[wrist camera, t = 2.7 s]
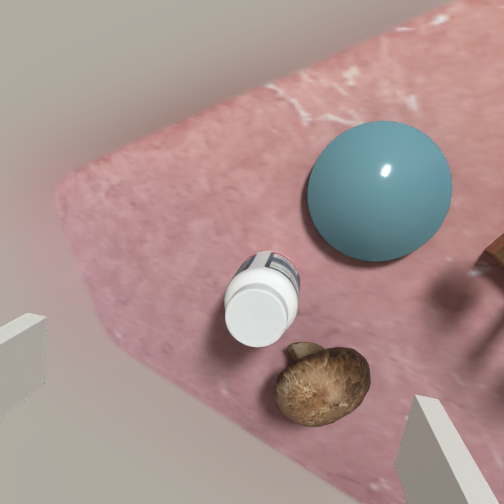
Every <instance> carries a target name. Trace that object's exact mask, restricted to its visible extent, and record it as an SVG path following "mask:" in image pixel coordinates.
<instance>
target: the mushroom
mask: <svg viewBox="0 0 504 504" xmlns="http://www.w3.org/2000/svg"><path fill="white" fill-rule="evenodd" d="M287 350H288V351H289V353H290V354H291V356H292V358H293V360H294V361H293V362H292V363H290V364H289V365H288V366H287V367H286V368H285V369H284V370H283V371H282V373H281V374H280V375H279V376H278V379H277V382H276V385H275V389H274V392H273V393H274V397H275V400H276V403H277V406H278V408H279V410H280V412H281V413H282V414H283V415H284V416H285V417H286V418H288V419H290V420H292V421H294V422H297V423H299V424H301V425H304V426H309V427H321V426H324V425H327V424H331V423H334V422H335V421H337V420H339V419H341V418H342V417H344V416H346V415H348V414H350V413H351V412H352V411H354V410H355V409H356V408H357V407H358V406H359V405H360V404H361V402H362V401H363V399H364V397H365V395H366V394H367V392H368V390H369V387H370V384H371V382H370V370H369V365H368V362H367V360H366V359H365V358H364V357H363V356H362V355H361V354H359V353H358V352H357V351H356V350H354V349H351V348H344V347H334V348H328V349H324V348H323V347H322V346H320V345H317V344H314V343H310V342H299V343H292V344H291V345H289V346H288V347H287Z"/></svg>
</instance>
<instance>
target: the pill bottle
mask: <svg viewBox="0 0 504 504" xmlns="http://www.w3.org/2000/svg"><path fill="white" fill-rule="evenodd" d="M299 290H300V275H299V272H298V269H297V267H296V265H295V264H294V263H293V261H292V260H291V259H290V258H288V257H287V256H285V255H284V254H282V253H279V252H276V251H262V252H258V253H255V254H253V255H252V256H250V257H249V258H248V259H247V260H246V261H245V262H244V263H243V264H242V266H241V267H240V268H239V270H238V271H237V273H236V274H235V276H234V277H233V278H232V280H231V282H230V283H229V285H228V287H227V290H226V293H225V298H224V306H225V321H226V325H227V328H228V330H229V332H230V333H231V335H232V336H233V337H234V338H235V339H236V340H238V341H239V342H240V343H242V344H244V345H247V346H250V347H265V346H268V345H271V344H272V343H274V342H276V341H277V340H278V339H279V338H280V337H281V336H282V334H283V332H284V331H286V330H287V329H288V328H289V327H290V325H291V324H292V323H293V321H294V319H295V317H296V314H297V310H298V301H299Z"/></svg>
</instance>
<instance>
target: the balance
mask: <svg viewBox="0 0 504 504" xmlns="http://www.w3.org/2000/svg"><path fill="white" fill-rule="evenodd" d="M485 251H486V252H487V253H488V254H489V255H490V256H491V257H492V258H493V259H494V260H495V261H496V262H497V263H498V264H499V265H500V266H501V267H503V268H504V234H503V235H502V236H500V237H499V238H498V239H497V240H496V241H494V242H493V243H492V244H491V245H490V246H488V247H487V248H486V249H485Z"/></svg>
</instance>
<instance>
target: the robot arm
mask: <svg viewBox="0 0 504 504" xmlns="http://www.w3.org/2000/svg"><path fill="white" fill-rule="evenodd" d="M46 334H47V317H45V316H41V315H36V314H31V313H26V314H24V315H22V316H21V317H19V318H17V319H15V320H13V321H11V322H9V323H7V324H6V325H4V326H2V327H0V421H1V420H2V419H4V418H5V417H6V416H7V415H8V414H10V413H11V412H12V411H13V410H14V409H15V408H17V407H18V406H19V405H20V404H21V403H23V402H24V401H25V400H26V399H27V398H28V397H30V396H31V395H32V394H33V393H34V392H36V391H37V390H38V389H39V388H40V387H41V386H43V385H44V384H45V362H46V336H47V335H46ZM395 466H396V469H397V472H398V475H399V479H400V482H401V485H402V488H403V491H404V495H405V498H406V501H407V504H499V503H498V501H497V499H496V498H495V496H494V494H493V492H492V491H491V489H490V487H489V486H488V484H487V482H486V480H485V479H484V477H483V475H482V474H481V472H480V470H479V468H478V467H477V465H476V463H475V461H474V460H473V458H472V456H471V455H470V453H469V451H468V449H467V448H466V446H465V444H464V443H463V441H462V439H461V437H460V436H459V434H458V432H457V430H456V429H455V427H454V425H453V424H452V422H451V420H450V418H449V417H448V415H447V413H446V412H445V410H444V408H443V406H442V405H441V403H440V401H439V400H438V399H434V398H429V397H425V396H420V395H415V396H414V400H413V403H412V406H411V410H410V413H409V417H408V420H407V424H406V427H405V430H404V434H403V437H402V441H401V444H400V447H399V451H398V454H397V458H396V461H395Z"/></svg>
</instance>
